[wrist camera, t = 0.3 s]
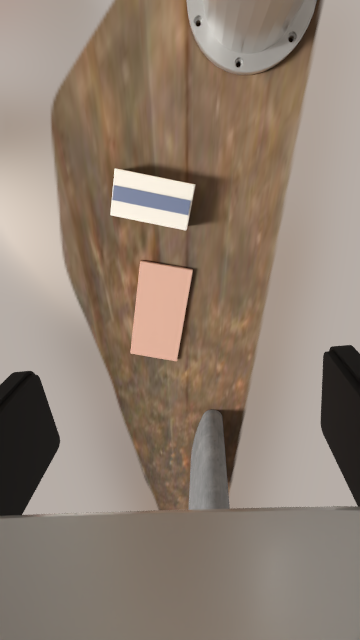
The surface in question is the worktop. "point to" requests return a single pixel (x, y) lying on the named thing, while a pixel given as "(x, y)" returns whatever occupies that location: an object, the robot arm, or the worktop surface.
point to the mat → (160, 310)
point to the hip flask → (209, 465)
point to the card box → (151, 199)
